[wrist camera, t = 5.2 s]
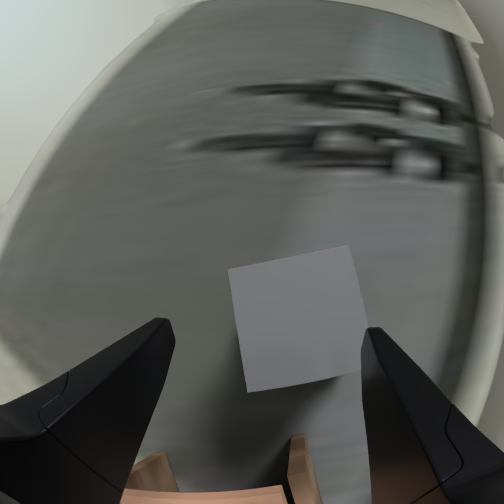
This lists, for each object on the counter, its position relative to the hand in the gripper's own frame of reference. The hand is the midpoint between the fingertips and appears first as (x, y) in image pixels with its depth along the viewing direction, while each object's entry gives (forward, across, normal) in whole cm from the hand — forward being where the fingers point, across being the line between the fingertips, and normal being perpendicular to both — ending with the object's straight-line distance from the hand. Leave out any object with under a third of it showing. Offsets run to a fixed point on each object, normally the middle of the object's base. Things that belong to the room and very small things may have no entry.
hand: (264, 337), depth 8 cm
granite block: (+8, -1, +7) cm, 11 cm away
